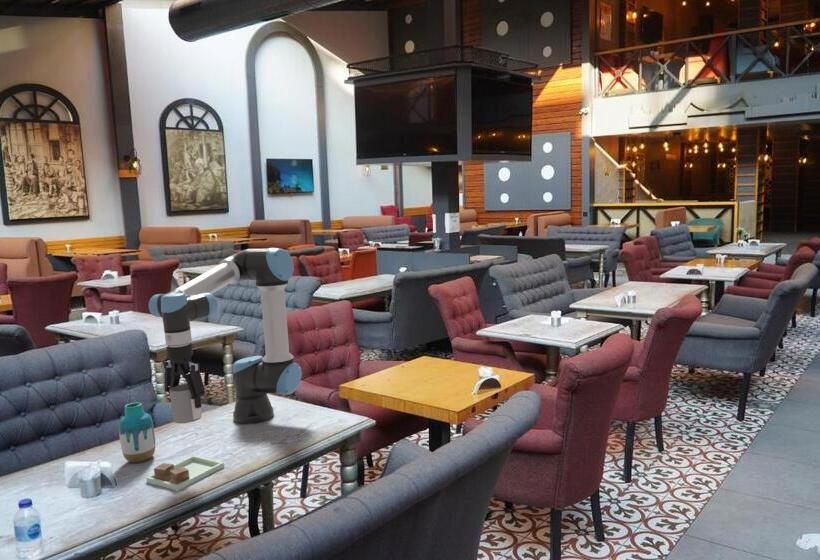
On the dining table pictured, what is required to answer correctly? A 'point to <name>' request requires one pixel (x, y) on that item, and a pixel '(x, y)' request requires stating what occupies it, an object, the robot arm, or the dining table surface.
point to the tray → (190, 471)
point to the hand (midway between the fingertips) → (187, 415)
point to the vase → (136, 434)
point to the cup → (181, 404)
